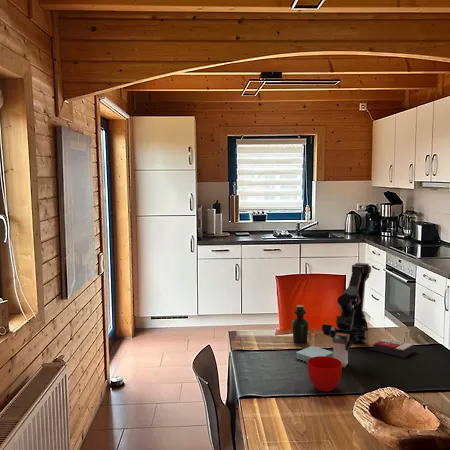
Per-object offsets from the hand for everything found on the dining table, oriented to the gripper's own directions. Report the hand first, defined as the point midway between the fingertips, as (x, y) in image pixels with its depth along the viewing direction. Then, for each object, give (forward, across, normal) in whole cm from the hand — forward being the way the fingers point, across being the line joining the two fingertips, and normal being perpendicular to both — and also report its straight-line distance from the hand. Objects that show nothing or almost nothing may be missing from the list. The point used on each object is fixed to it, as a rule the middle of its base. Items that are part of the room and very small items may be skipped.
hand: (340, 349), depth 202 cm
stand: (+4, -12, +6) cm, 14 cm away
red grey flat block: (-14, +18, +24) cm, 33 cm away
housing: (+5, 0, +5) cm, 7 cm away
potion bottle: (-10, -25, +20) cm, 33 cm away
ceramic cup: (+22, 0, -12) cm, 25 cm away
